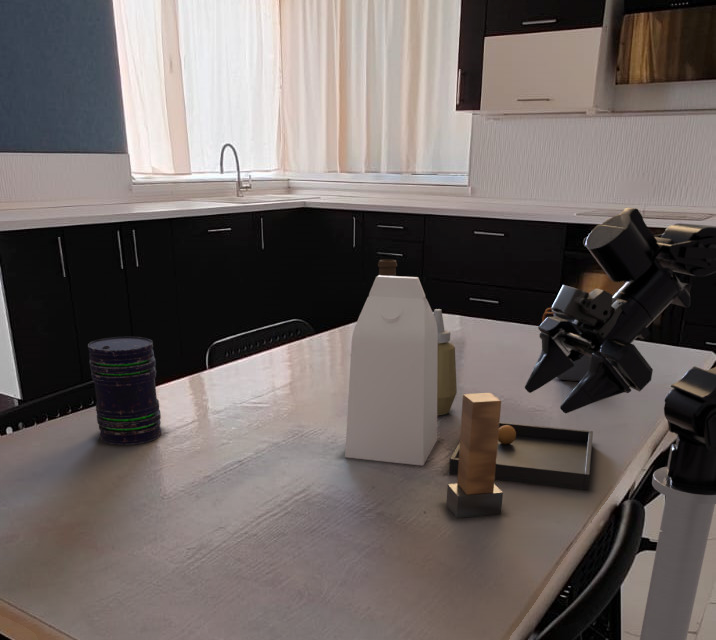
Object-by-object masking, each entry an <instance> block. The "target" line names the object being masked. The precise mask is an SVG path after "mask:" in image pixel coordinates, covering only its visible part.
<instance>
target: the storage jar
mask: <svg viewBox="0 0 716 640" xmlns="http://www.w3.org/2000/svg"><path fill="white" fill-rule="evenodd" d="M153 348H154V342H153V340H152V339H149V338H148V337H147V338H146V337H141V336H115V337H105V338H100V339H96V340H93V341H90V342H89V343H88V344H87V349H88V352H89V370H90V371H91V374H90V377H91V380H92V382H93V383H94V390H95V397H96V404H95V412H96V421H97V425H98V429H99V431H100V432H99V438H100V440H101V441H102V442H103V443H106V444H110V445H117V446H118V445H119V446H131V445H139V444H145V443H148V442H151V441H155V440H156V439H158V438H160V436H161V435H162V433H163V432H162V428H161V424H162V422H161V421H162V420H161V419H162V416H161V414H162V413H161V409H160V401H159V399H158V398H157V388H156V386H157V385H156V377H157V370H156V358H155V354H154V349H153Z"/></svg>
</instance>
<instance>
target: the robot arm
mask: <svg viewBox="0 0 716 640" xmlns="http://www.w3.org/2000/svg"><path fill="white" fill-rule="evenodd" d="M664 230H665V231H664V232H663V233H660V234H653V232H652V231H651V230H650V228H649V227H648V226H647V224H646V222H645V220H644V218H643V215H642V213H641V212H640V210H639V209H638V208H633V207H625V208H624V209H623V210H622V212H621V213H619V214H616V215H614V216H611V217H609V218H608V219H606V220H605V221H603V222H602V223H601V224H597V225H596V226H595V227H593V229H591V232H590V233H589V234H588V236H587V238H586V240H585V247H586V248H587V250H588V251H589V252H590V254H591V255H592V257H593V258H594V259H595V261H596V262H597V263H598V265H599V266H600V268H601V269H602V270H603V272H604V273H605V274H606V275H607V277H608V278H609V280H610V281H612V282H614V283H620V282H624V283H623V285H622V286H621V287H620V288H619V289H618V290H617V291H616V292H615V293H614V295H613V294H612V293H610V292H608V291H606V290H603V289H600V288H595V289H593V290H591V292H587V291H584V290H581V289H579V288H575V287H573V286H568V285H565V284H562V286H561V288H560V290H559V292H558V294H557V296H556V298H555V300H554V302H553V304H552V305H551V307H550V308H551V309H552V310H554V311H556V312H562V313H564V314H566V315H567V316H569V317H571V318H573V319H575V321H574V322H573V325H574V326H575V327H576V328H577V329H578V330H580V332H581V333H580V334H579V333H578V331H577V330H576V329H575V328H574V326H573V325H572V324H571V323H570V321H567V320H565V319H562V318H559V317H553V316H546V319H545V320H544V321H543V323H542V322H541V323H540V325H538V328H537V329H538V330H539V331H540V332H539V338H540V340H541V351H540V354H539V357H538V359H537V361H536V363H535V365H534V367H533V369H532V371H531V373H530V375H529V377H528V379H527V381H526V383H525V385H524V389H525V391H527V393H529V394H532V393H534V392H535V391H537V390H539V389H541V388H542V387H544V386H545V385H547V384H549V383H550V382H551V381H553V380H554V379H556V378H557V377H558V376H559V375H561V374H562V373H564V372H566V371H567V370H569V369H570V368H572V367H574V366H575V365H574V364H573V363H572V361H573V362H574V361H576V360H579V359H581V358H582V357H583V356H584V355H587V356H589V357H591V363H590V369H589V371H588V373H587V374H586V375H585V376H584V378H583V379H582V380H581V381H578V384H577V385H576V386H575V387H574V388H573V390H571V392H570V393H569V394H568V395H567V396H566V398H565V399H564V401H563V402H562V403H561V405H560V410H561V411H562V413H564V414H569V413H571V412H573V411H576V410H579V409H582V408H584V407H587V406H589V405H591V404H594V403H598V402H600V401H603V400H605V399H609V398H611V397H615V396H617V395H618V396H619V395H620V394H624V393H626V394H629V393H631V392H632V389H633V390H634V391H637V392H640V393H641V391H642V390H643V389H645V387H646V386H647V385H648V384H649V383H650V382H651V381H652V376H653V372H654V369H653V368H652V366H651V365H650V363H648V361H647V360H646V358H645V357H644V356H643V355H642V353H641V352H640V351H639V350H638V349H639V348H637V346H636V345H635V344H634V343H633V342H634V341H635V340H636V339H637V338H639V339H641V340H646V339H647V338H648V337H649V336H650V335H651V332H650V330H649V329H648V327H649V326H650V325H651V324H652V323H653V322H654V320H656V319H657V317H659V316H660V315H661V314H662V313H663V312H664V310H665V309H667V308H668V306H669V305H670V304H672V305H676V306H678V307H679V306H680V307H684V308H689V307H690V305H691V295H690V294H691V293H690V291H691V287H692V285H691V284H690V283H685V282H681V281H680V279H679V278H678V277H677V275H676V274H675V273H679V274H684V275H687V276H688V275H689V276H694V277H707V276H710V275H713V274H715V273H716V225H706V224H693V223H679V222H678V223H675V224H671V225H669V226H667V227H666V228H665V229H664ZM552 310H551V311H552ZM588 346H589V348H588ZM670 388H672V389H671V390H670V391H669V393H668V394H666V396H665V398H664V406H663V414H664V417H665V419H666V420H667V426H668V431H669V432H670V433H673V434H676V439H675V440H676V441H675V443H672V444H671V445H670V449H669V454H668V459H667V465H666V467H667V475H668V477H670V480H671V485H673V486H680V487H689V488H698V489H707V490H715V491H716V366H715V367H712V368H710V369H707V370H706V369H704V368H701V367H698V366H692V367H691V368H689V369H688V370H687V371H686V373H685V374H684V375H683V376H682V377H681V378H680V379H679V380H678V381H676V382H674V383H672V384H671V385H670Z"/></svg>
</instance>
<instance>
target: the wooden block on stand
mask: <svg viewBox="0 0 716 640" xmlns="http://www.w3.org/2000/svg"><path fill="white" fill-rule="evenodd" d="M461 404H462V405H461V419H460V434H459V436H460V437H459V442H460V448H459V464H458V475H457V479H456V480H457V481H456V483H449V484H448V483H447V487H446V488H447V489H446V507H447V508H448V510H449V511H450V512H451V513H452V514H453V516H454V517H455V518H456V519H462V518H472V517H474V518H475V517H483V516H495V515H502V508H503V498H504V497H503V496H504V492H503V490H501V489H500V487H499V486H497V485H496V484H495V480H496V479H495V468H496V457H497V445H498V434H499V422H501V410H502V400H501V399H500V398H498V397H497V396H496V395H494V394H493V393H491V392H479V393H464V394H462V403H461Z"/></svg>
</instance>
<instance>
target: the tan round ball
mask: <svg viewBox="0 0 716 640" xmlns="http://www.w3.org/2000/svg"><path fill="white" fill-rule="evenodd" d="M515 438H516V431H515V429H514V428H513V427H511V426H509V425H504V426H502V427H500V428H499V434H498V441H499V442H500V443H502V444H510V443H512V442H513V441H514V440H515Z"/></svg>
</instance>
